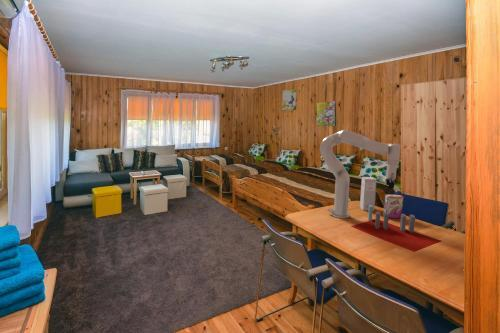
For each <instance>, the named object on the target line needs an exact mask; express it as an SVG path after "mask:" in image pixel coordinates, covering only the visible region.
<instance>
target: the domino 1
mask: <svg viewBox="0 0 500 333" xmlns="http://www.w3.org/2000/svg"><path fill="white" fill-rule="evenodd" d="M367 215H368V216H367V218H368V221H370V222H372V221H373V206H372V205H369V210H368V214H367Z"/></svg>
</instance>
